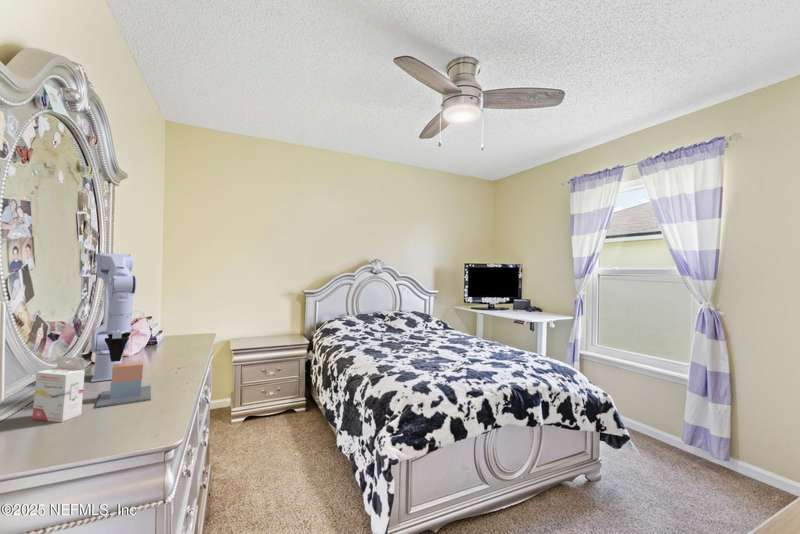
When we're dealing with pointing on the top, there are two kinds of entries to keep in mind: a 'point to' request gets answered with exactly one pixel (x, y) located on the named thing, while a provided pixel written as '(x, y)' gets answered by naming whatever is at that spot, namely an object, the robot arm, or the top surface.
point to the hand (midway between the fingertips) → (116, 358)
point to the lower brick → (125, 389)
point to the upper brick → (127, 372)
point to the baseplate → (123, 398)
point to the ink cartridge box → (59, 391)
